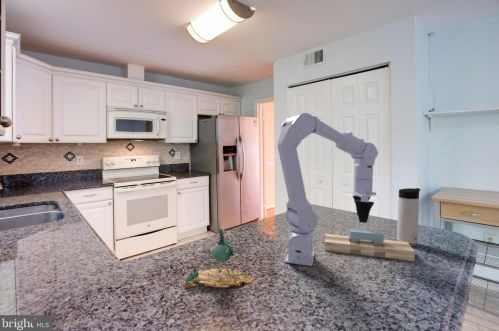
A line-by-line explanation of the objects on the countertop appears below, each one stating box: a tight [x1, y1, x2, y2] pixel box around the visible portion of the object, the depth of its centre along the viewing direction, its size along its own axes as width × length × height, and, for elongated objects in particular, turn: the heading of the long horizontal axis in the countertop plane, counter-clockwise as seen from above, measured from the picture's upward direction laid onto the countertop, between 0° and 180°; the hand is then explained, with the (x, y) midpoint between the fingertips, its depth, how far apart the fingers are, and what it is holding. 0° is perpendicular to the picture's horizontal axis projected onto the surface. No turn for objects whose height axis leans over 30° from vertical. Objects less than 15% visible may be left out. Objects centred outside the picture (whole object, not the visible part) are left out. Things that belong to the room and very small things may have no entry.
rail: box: [324, 233, 416, 262], centre depth 84 cm, size 8×26×3 cm, turn 71°
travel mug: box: [396, 187, 421, 247], centre depth 90 cm, size 6×7×20 cm
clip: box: [349, 228, 385, 245], centre depth 83 cm, size 2×10×6 cm, turn 71°
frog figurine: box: [182, 227, 254, 288], centre depth 64 cm, size 10×18×15 cm, turn 89°
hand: (361, 219), depth 84 cm, fingers open, 7 cm apart
